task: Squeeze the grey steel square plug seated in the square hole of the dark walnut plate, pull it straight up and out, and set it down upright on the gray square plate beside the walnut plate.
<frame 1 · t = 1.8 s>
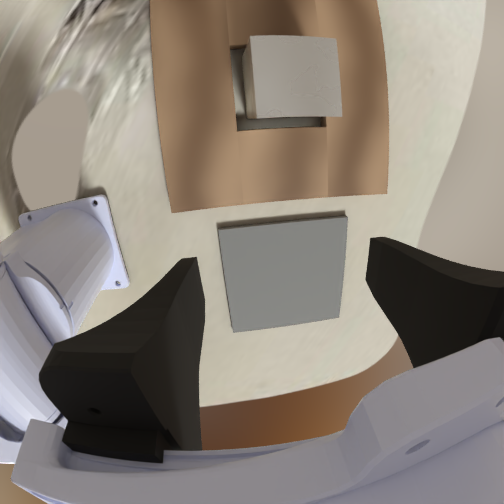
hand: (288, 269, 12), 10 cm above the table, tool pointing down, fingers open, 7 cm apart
walnut hole plate: (276, 86, 17), on the table
gray square plate: (286, 277, 24), on the table
steel plug: (285, 81, 15), in the walnut hole plate
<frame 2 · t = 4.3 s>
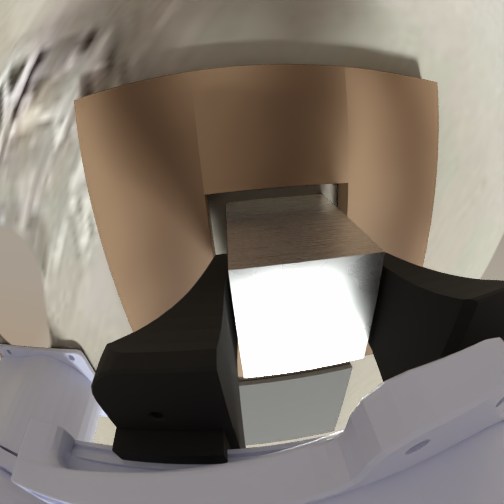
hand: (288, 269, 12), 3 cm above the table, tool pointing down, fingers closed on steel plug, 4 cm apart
walnut hole plate: (277, 242, 14), on the table
gray square plate: (281, 412, 21), on the table
steel plug: (290, 274, 11), in the walnut hole plate, touching gripper
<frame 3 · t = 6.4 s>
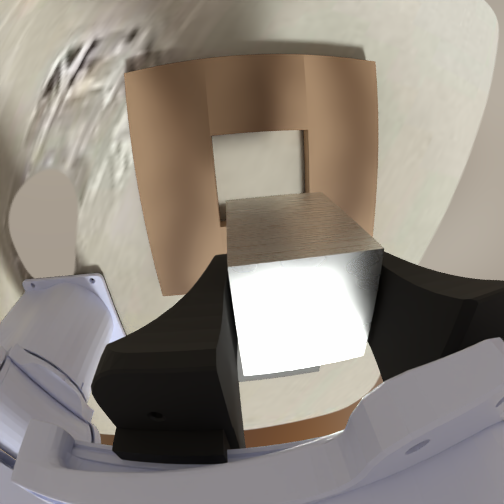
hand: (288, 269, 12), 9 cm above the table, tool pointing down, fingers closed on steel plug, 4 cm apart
walnut hole plate: (260, 174, 19), on the table
gray square plate: (269, 342, 26), on the table
steel plug: (289, 271, 11), point 10 cm above the table, touching gripper
when the fingers open (4 cm above the table, at t = 8.7 s): steel plug drops 1 cm, resting on gray square plate.
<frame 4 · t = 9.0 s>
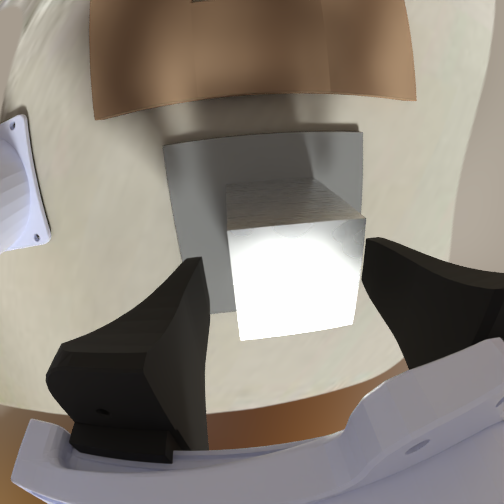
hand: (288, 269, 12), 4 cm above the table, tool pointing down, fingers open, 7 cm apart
gray square plate: (271, 227, 16), on the table
steel plug: (283, 246, 12), on the gray square plate
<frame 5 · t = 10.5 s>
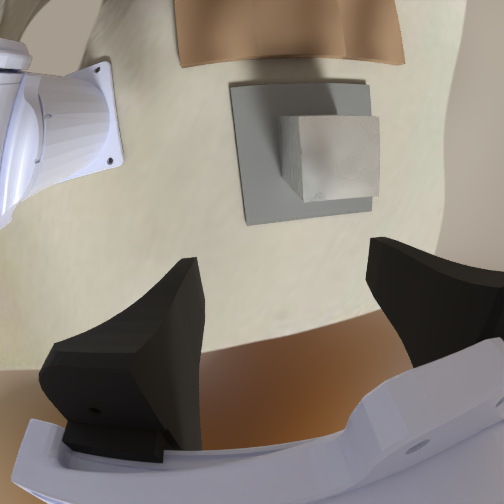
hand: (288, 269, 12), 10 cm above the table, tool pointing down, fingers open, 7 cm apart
gray square plate: (308, 151, 20), on the table
steel plug: (324, 150, 16), on the gray square plate
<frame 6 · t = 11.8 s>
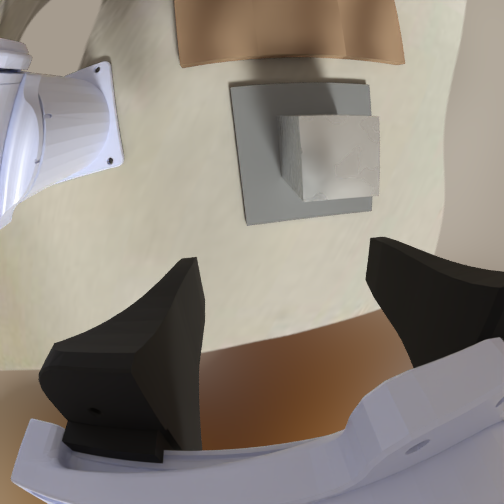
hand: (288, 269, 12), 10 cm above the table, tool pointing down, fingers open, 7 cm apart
gray square plate: (308, 150, 20), on the table
steel plug: (324, 150, 16), on the gray square plate
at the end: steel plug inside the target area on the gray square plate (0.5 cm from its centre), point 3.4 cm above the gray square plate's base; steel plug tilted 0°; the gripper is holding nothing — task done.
